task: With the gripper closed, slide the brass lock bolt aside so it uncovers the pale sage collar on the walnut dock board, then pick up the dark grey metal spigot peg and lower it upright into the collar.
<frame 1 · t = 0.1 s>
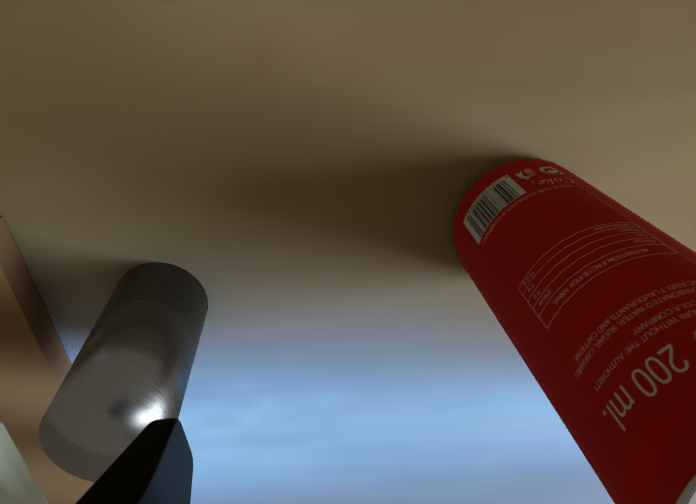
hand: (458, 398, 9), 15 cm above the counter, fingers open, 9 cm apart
beverage can: (519, 209, 24), on the counter
spigot: (161, 302, 25), on the counter
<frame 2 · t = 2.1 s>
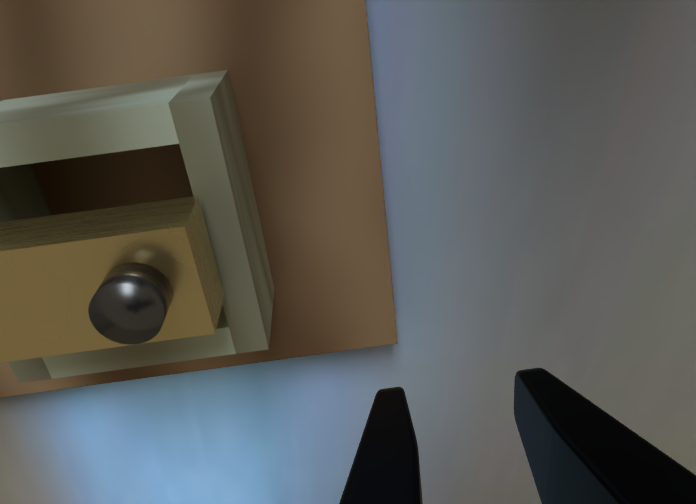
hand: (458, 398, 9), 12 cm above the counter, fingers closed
lock bolt: (81, 290, 14), point 7 cm above the counter, slide at 0.0 cm
dock: (91, 196, 20), on the counter
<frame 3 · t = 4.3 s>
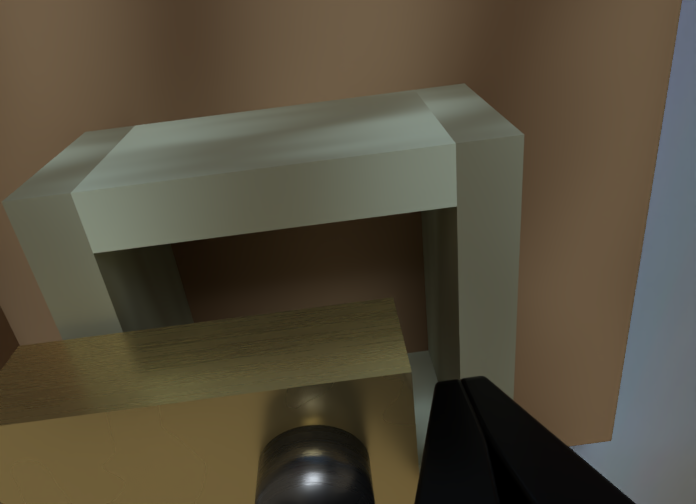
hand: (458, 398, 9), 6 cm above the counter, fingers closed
lock bolt: (214, 457, 8), point 7 cm above the counter, slide at 1.3 cm, touching gripper
dock: (225, 251, 14), on the counter
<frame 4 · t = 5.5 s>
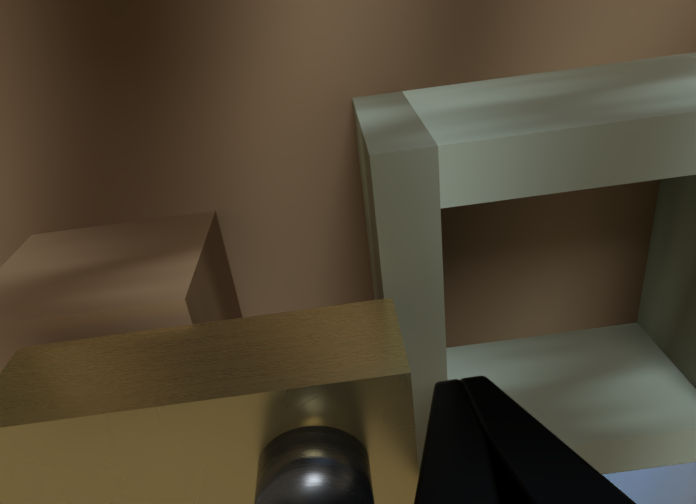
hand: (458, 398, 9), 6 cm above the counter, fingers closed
lock bolt: (214, 458, 8), point 7 cm above the counter, slide at 6.7 cm, touching gripper
dock: (434, 224, 14), on the counter
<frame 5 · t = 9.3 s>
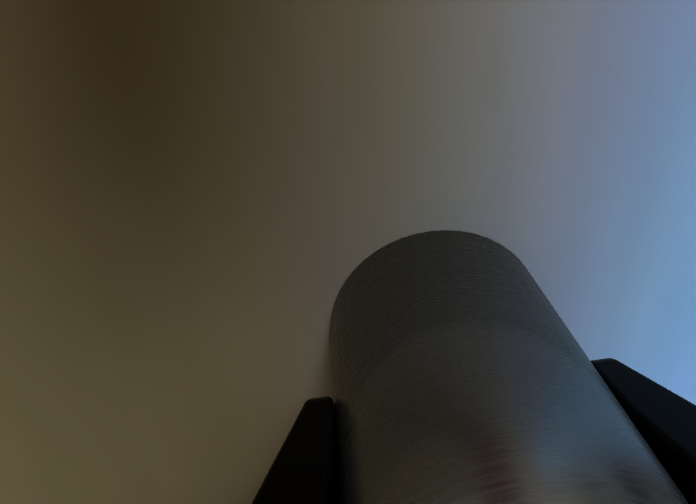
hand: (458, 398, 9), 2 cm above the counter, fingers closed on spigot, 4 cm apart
spigot: (434, 324, 11), on the counter, touching gripper
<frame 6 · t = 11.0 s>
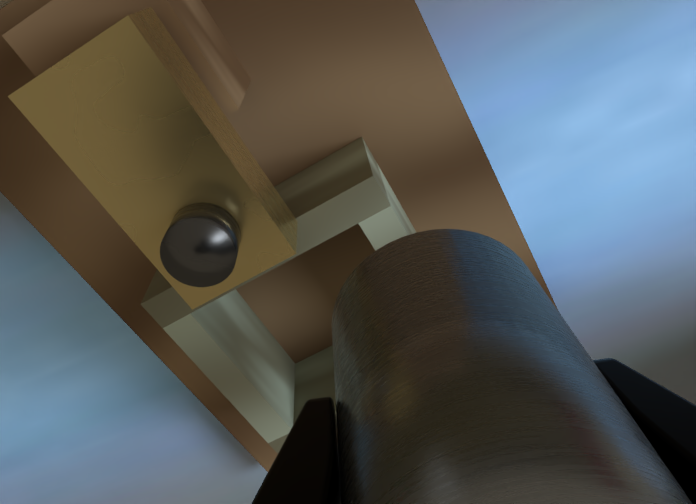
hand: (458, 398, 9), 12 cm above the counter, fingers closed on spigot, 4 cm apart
lock bolt: (168, 175, 13), point 7 cm above the counter, slide at 6.8 cm
spigot: (435, 323, 11), point 10 cm above the counter, touching gripper
dock: (291, 217, 21), on the counter
when the fingers open (5 cm above the counter, at t = 12.8 s): spigot drops 2 cm, resting on dock.
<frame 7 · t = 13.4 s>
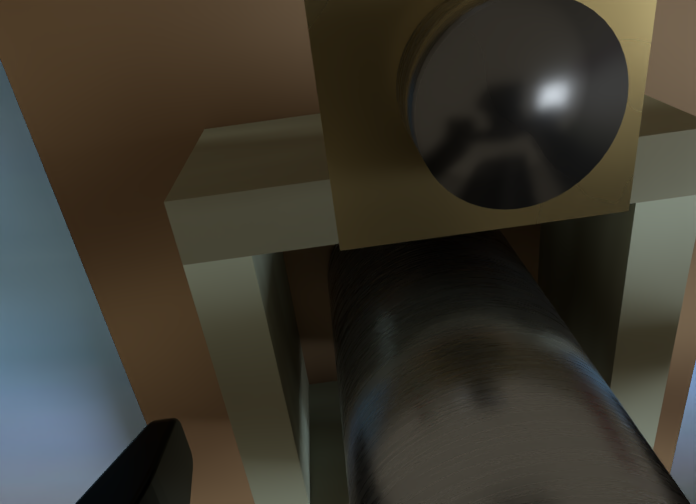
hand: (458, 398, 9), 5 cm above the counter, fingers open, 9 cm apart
spigot: (417, 273, 12), point 2 cm above the counter, touching dock
dock: (397, 164, 13), on the counter
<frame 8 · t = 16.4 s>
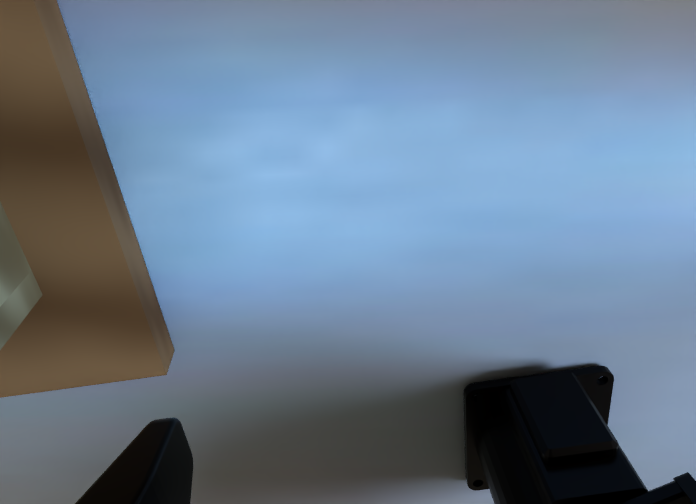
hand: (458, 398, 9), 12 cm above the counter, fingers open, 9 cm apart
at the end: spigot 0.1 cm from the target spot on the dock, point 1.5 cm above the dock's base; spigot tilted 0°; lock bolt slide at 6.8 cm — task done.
